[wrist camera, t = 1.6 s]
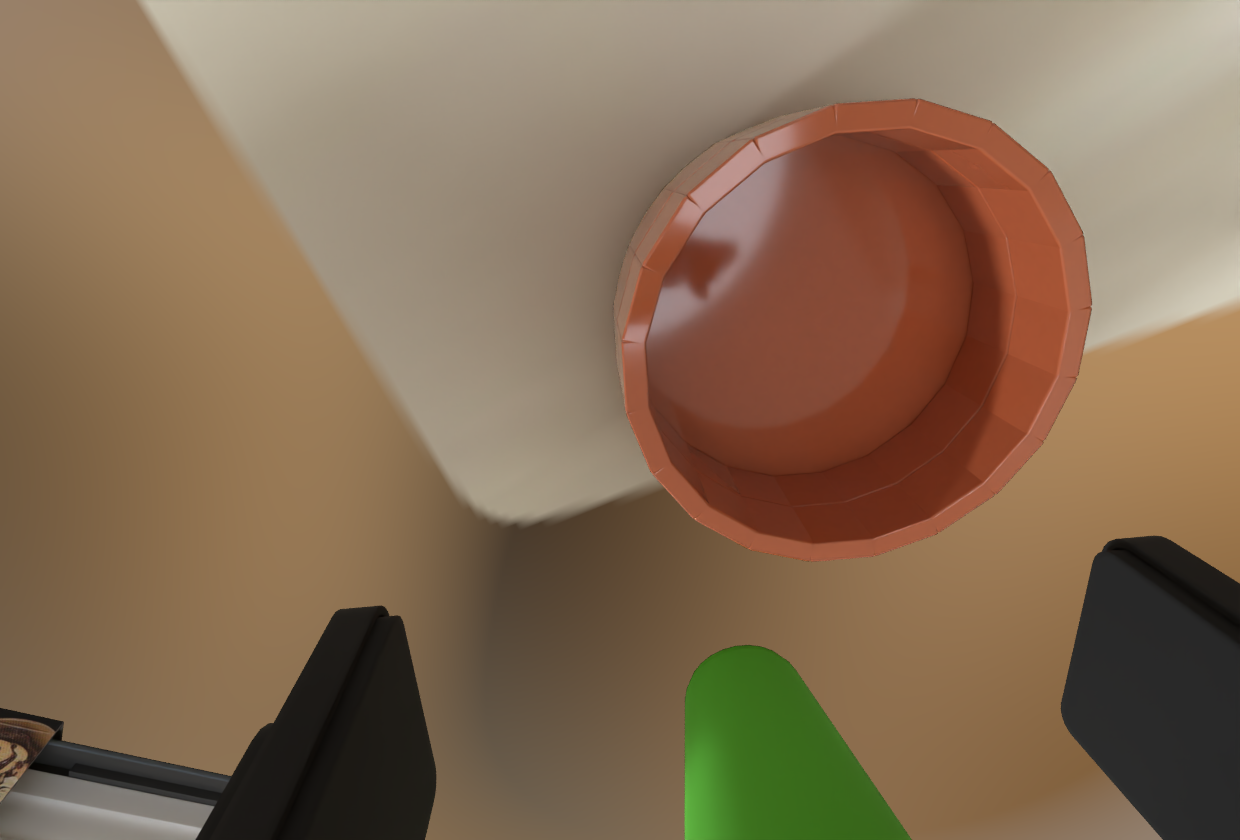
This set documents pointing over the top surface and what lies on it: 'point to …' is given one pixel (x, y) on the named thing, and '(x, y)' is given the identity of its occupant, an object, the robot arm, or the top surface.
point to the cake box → (94, 789)
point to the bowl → (850, 326)
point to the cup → (771, 759)
